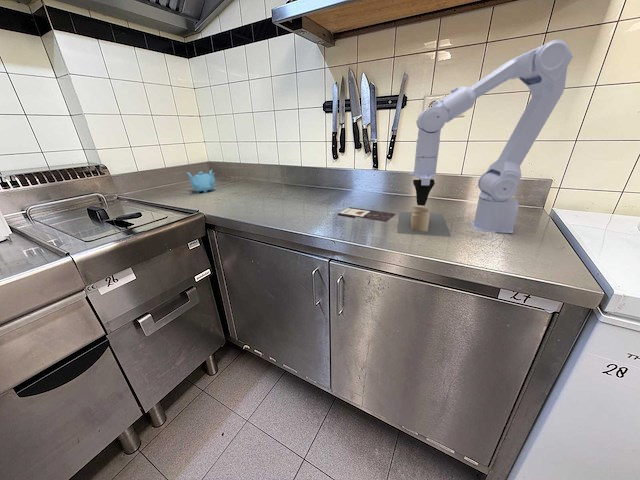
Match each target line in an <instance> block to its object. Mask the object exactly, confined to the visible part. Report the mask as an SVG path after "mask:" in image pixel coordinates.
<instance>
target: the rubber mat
mask: <svg viewBox="0 0 640 480" xmlns="http://www.w3.org/2000/svg"><path fill="white" fill-rule="evenodd" d="M398 213H399V214H398V221H397V222H398V223H397V234H404V235H405V234H406V235H419V236H422V235H423V236H434V237H446V238H447V237H450V238H451V237H452V235H451V233H450V232H451V231H450V230H449V228H448V224H447V222H446V219H445V216H444V214H443V213H437V212H436V213H433V212H429V216H430V217H429V225H428V231H413V230H411V213H412V211H411V212H409V211H399V212H398Z"/></svg>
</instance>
